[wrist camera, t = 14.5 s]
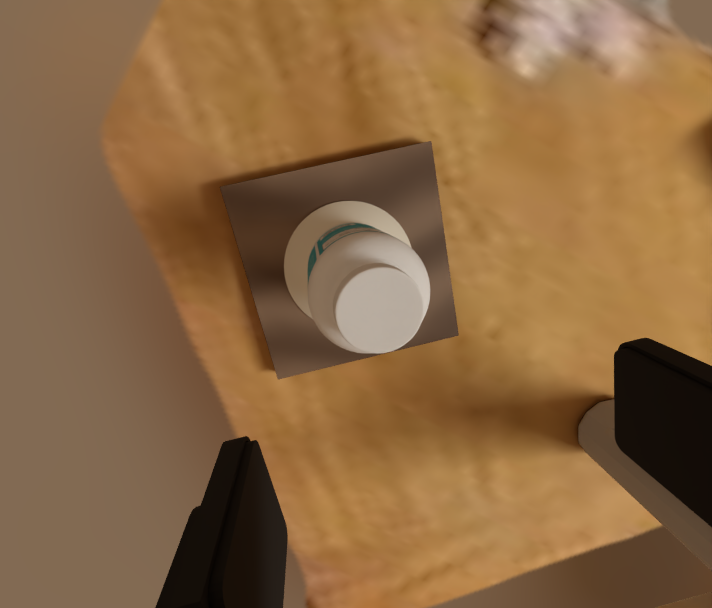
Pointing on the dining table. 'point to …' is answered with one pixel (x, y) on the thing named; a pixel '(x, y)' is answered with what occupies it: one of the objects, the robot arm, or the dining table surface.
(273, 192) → the serving board
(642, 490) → the water bottle
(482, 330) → the dining table surface
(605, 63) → the dining table surface
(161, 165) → the dining table surface
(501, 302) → the dining table surface
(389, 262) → the pill bottle
